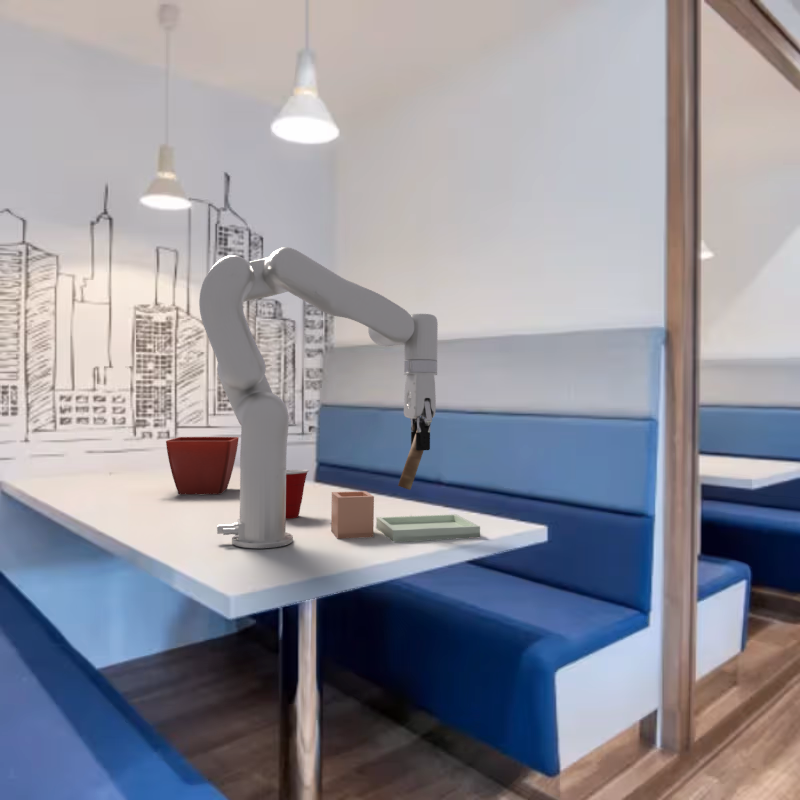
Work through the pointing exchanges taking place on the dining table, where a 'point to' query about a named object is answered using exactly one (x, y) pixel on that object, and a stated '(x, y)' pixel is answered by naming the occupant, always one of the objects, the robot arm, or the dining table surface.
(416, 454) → the dowel
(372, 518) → the pink square bin
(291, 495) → the plastic cup
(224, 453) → the plant pot
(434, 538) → the tray
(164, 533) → the dining table surface
